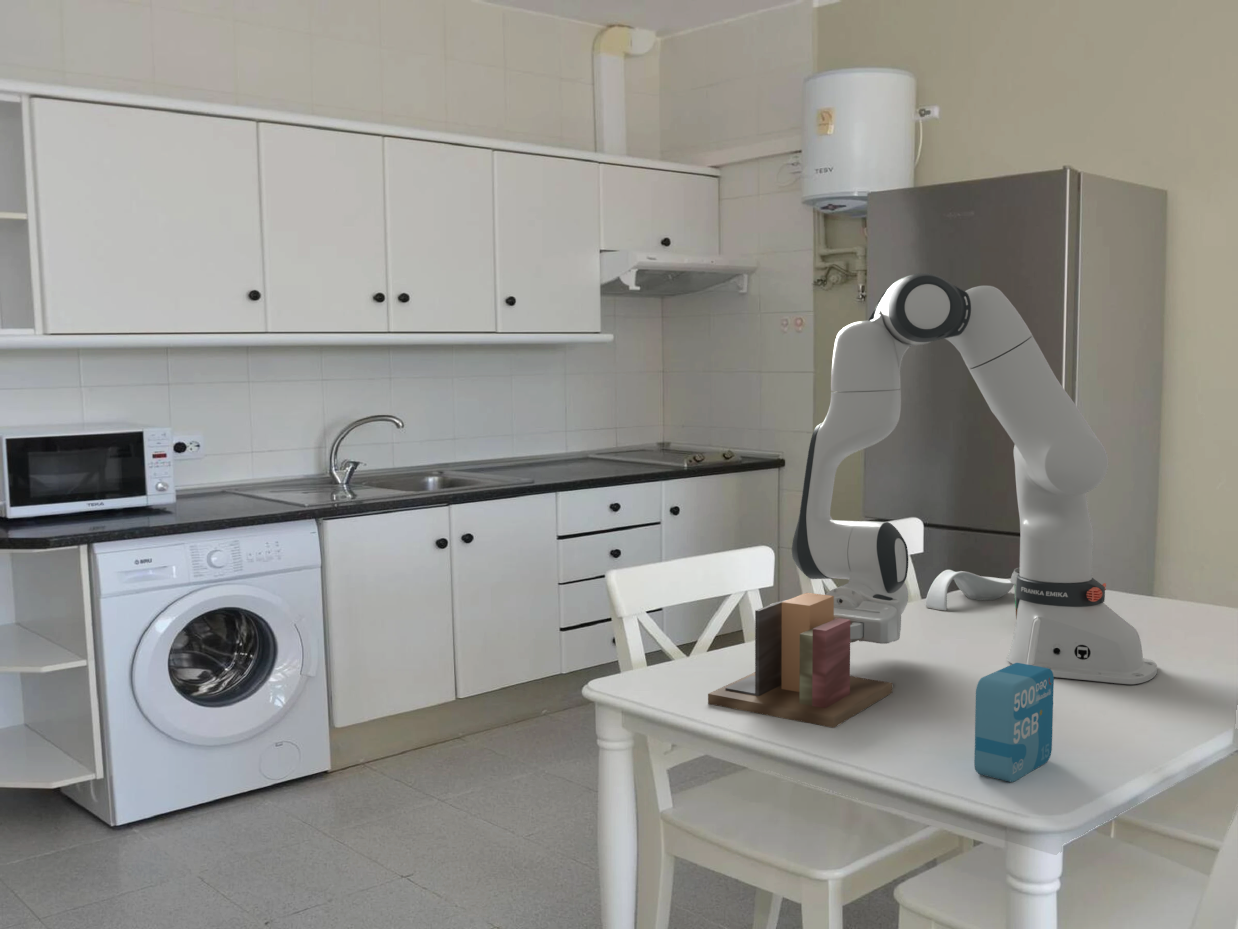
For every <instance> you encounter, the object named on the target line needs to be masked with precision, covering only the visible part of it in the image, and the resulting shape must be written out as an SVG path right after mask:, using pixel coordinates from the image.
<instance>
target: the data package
mask: <svg viewBox="0 0 1238 929" xmlns="http://www.w3.org/2000/svg"><path fill="white" fill-rule="evenodd" d="M1054 678H1055V677H1054V676H1053V672H1052V670H1051V669H1049V668H1044V667H1038V666H1033V665H1027V664H1022V663H1014V664H1012V663H1011V664H1010V665H1007V666H1005V667H1003V668H1001V669H999V670H996V671H994V672H992V673H990V674H987V675H985V676H982V677H981V678H980V679H979V680H978V682H977V684H976V688H975V708H974V709H975V711H974V712H975V714H974V715H975V716H974V717H975V718H974V721H975V722H974V762H973V763H974V770H975V772H976V774H978V775H981V776H985V777H989V778H993V779H997V780H1000V781H1005V782H1008V783H1014V782H1016V781H1018V780H1020V779H1021V778H1024V777H1025V776H1026V775H1027V774H1029V773H1031V772H1033V771H1034V770H1036V769H1038V768H1040V767H1041V766H1043V765H1044V764H1046V763H1047V762H1048V761H1049V759H1050V758H1051V755H1052V750H1053V725H1054V724H1053V720H1054V719H1053V717H1054V715H1053V714H1054V685H1055V684H1054V682H1055V681H1054Z"/></svg>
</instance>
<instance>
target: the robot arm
mask: <svg viewBox="0 0 1238 929" xmlns="http://www.w3.org/2000/svg"><path fill="white" fill-rule="evenodd" d="M943 339H945V340H946V341H948V342H949V343H951V344H952V345H953V346H954V347H955V349H956V350H957V351H958V352H959V353H960V356H961V358H962V360H963V362H964V364H965V365H966V367H967V369H968V371H969V374H970V375H971V377H972V378H973V381H974V382H975V383H976V386H977V388H978V389H979V391H980V393H981V394H982V396H983V398H984V400H985V402H986V403H987V406H988V408H989V409H990V411H991V412H992V414H993V415H994V416H995V418H996V419H997V420H998V422H999V423H1000V425H1001V426H1002V428H1003V429H1004V431H1005V432H1006V433H1007V435H1008V436H1009V438H1010V439H1011V441H1012V442H1013V444H1014V445H1013V446H1014V447H1013V460H1014V474H1015V486H1016V499H1017V507H1018V515H1019V530H1020V531H1019V533H1020V537H1019V567H1020V574H1018V575H1017V581H1016V588H1015V590H1014V602H1015V601H1016V608H1018V609H1017V618H1016V617H1015V624H1014V632H1013V636H1012V640H1011V641H1012V642H1011V645H1010V648H1009V651H1008V654H1007V656H1006V660H1007V662H1009V663H1010V664H1011V665H1012V664H1014V663H1022V664H1027V665H1033V666H1038V667H1044V668H1049V669H1051V670H1052V672H1053V676H1054V678H1062V679H1072V680H1083V681H1090V682H1091V681H1093V682H1101V683H1111V684H1113V683H1114V684H1121V685H1136V684H1142V683H1146V682H1148V681H1150V680H1152V679H1153V678H1154V677H1156V675H1157V674H1158V665H1157V663H1156V662H1155V661H1154V660H1152V659H1149V658H1145V657H1143V648H1142V642H1141V637H1140V635H1139V632H1138V631H1137V629H1136V628H1135V627H1134V626H1133V625H1131V624H1130V623H1129V622H1127V620H1125V619H1124V618H1123V617H1122V616H1121V615H1119V614H1118V613H1117V612H1115V610H1113V609H1112V608H1110V607H1109V605H1107V604H1105V601H1106V600H1105V599H1106V590H1107V588H1106V587H1107V583H1106V582H1104V583H1100V582H1099V581H1098V580H1096V579H1095V578H1094V577H1093V561H1094V560H1093V559H1094V558H1093V554H1094V553H1093V552H1094V549H1093V548H1094V528H1093V524H1092V521H1091V520H1092V519H1091V516H1090V515H1091V514H1090V510H1089V504H1088V496H1087V494H1088V493H1089V492H1091V491H1094V490H1095V489H1096V488H1097V487H1098V486H1100V485H1101V483H1102V482H1103V481H1104V480H1105V477H1106V475H1107V473H1108V469H1109V457H1108V453H1107V451H1106V448H1105V447H1104V445H1103V443H1102V441H1101V440H1100V439H1099V438H1098V436H1097V435H1096V434H1095V432H1094V430H1093V429H1092V427H1091V426H1090V424H1089V423H1088V421H1087V420H1086V418H1085V416H1084V415H1083V414H1082V412H1081V411H1080V409H1079V408H1078V406H1077V405H1076V404H1075V402H1074V401H1073V399H1072V398H1071V397H1070V395H1069V394H1068V392H1067V391H1066V390H1065V389H1064V387H1063V386H1062V384H1061V383H1060V381H1059V380H1058V378H1057V377H1056V375H1055V373H1054V371H1053V370H1052V368H1051V366H1050V364H1049V362H1048V360H1047V358H1046V357H1045V355H1044V353H1043V352H1042V350H1041V348H1040V345H1039V344H1038V342H1037V341H1036V339H1035V337H1034V335H1033V333H1032V331H1031V330H1030V329H1029V327H1028V325H1027V323H1026V322H1025V321H1024V319H1023V317H1022V315H1021V314H1020V313H1019V311H1018V310H1017V308H1016V307H1015V306H1014V305H1013V304H1012V302H1011V301H1010V300H1009V298H1007V296H1006V295H1005V293H1003V292H1002V290H1000V289H999V288H997V287H995V286H993V285H978V286H974V287H971V288H968V289H966V290H964V289H962V288H960V287H958V286H957V285H956V284H955V285H954V284H953V283H951V282H950V281H949V280H947V279H945V278H944V277H942V276H939V275H936V274H934V273H929V272H922V273H921V272H920V273H914V274H910V275H906V276H904V277H902V278H899V279H898V280H896V281H895V282H894V283H892V284H891V285H890V286H889V287H888V288H887V289H886V290H885V291H884V292H883V293H882V294H881V297H880V298H879V300H878V302H877V303H876V306H875V307H874V309H873V311H872V313H871V315H870V316H869V318H868V320H860V321H859V320H858V321H855V322H852V323H850V324H847V325H846V326H844V327H842V329H840V330H839V331H838V333H837V334H836V338H835V340H834V346H833V352H832V359H831V360H832V363H831V372H830V375H831V376H830V391H831V392H830V404H829V407H828V410H827V414H826V415H825V417H824V420H823V422H821V423H819V424H817V425H816V427H815V428H814V429H813V431H812V432H813V433H812V435H811V438H810V443H809V446H808V452H807V457H806V458H807V459H806V465H805V473H804V478H803V479H804V480H803V488H802V493H801V494H802V495H801V499H800V508H799V516H798V521H797V524H796V528H795V531H794V534H793V538H792V544H791V556H792V560H793V562H794V563H795V565H796V567H797V568H798V569H799V570H800V571H801V572H802V573H803V574H804V576H806V577H807V578H809V579H810V580H828V579H830V580H831V579H840V580H848V582H847V583H846V584H843V585H840V586H838V587H835V588H833V589H830V590H829V591H828V592H826V594H825V595H830V596H834V619H837V618H841V619H849V620H850V644H851V643H852V644H853V643H855V642H858V641H859V642H867V643H875V644H881V645H884V644H890V643H892V642H893V643H894V642H897V641H899V640H900V637H901V630H902V614H903V613H904V611H905V610H906V607H907V606H908V603H909V591H908V586H907V584H906V583H905V581H906V579H907V577H908V571H909V551H908V550H909V549H908V545H907V543H906V541H905V539H904V537H903V536H902V535H901V532H900V531H899V530H898V529H897V528H896V526H894V524H892V523H891V522H889V521H872V520H871V521H870V520H859V521H858V520H841V519H833V517H832V516H831V508H832V500H833V494H834V493H833V492H834V486H835V479H836V474H837V470H838V467H839V466H840V465H841V463H842V462H843V461H844V460H845V459H846V458H847V457H848V456H851V455H852V454H855V453H857V452H859V451H862V450H864V449H867V448H869V447H870V448H871V447H872V446H874V445H876V444H878V443H880V442H881V441H883V440H885V439H886V438H887V437H889V435H890V434H891V433H892V432H893V431H894V430H895V429H896V427H897V425H898V423H899V421H900V417H901V412H902V411H901V409H902V391H901V389H902V386H901V385H902V382H901V372H900V371H901V369H902V361H903V357H904V356H905V354H906V353H907V351H908V349H910V348H911V347H915V346H922V345H923V346H924V345H927V344H930V343H932V342H935V341H939V340H943ZM786 600H787V599H786ZM786 600H783V601H786ZM777 602H778V601H776V602H773V603H770V604H769V605H771V604H774V603H777ZM1016 608H1015V609H1016Z"/></svg>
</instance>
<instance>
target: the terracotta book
mask: <svg viewBox="0 0 1238 929" xmlns="http://www.w3.org/2000/svg"><path fill="white" fill-rule="evenodd" d="M782 601H783V602H782V689H785V690H791V691H796V692H799V686H800V634H801V633H803V632H806V631H808V630H810V629H812V628H815V627H817V626H819V625H822V624H824V623H827V622H830V621H832V620H834V596H830V595H826V594H823V593H822V594H821V593H813V592H812V593H811V592H804V593H802V594H799V595H797V596H793V597H792V598H789V599H786V601H784V600H782Z"/></svg>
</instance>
